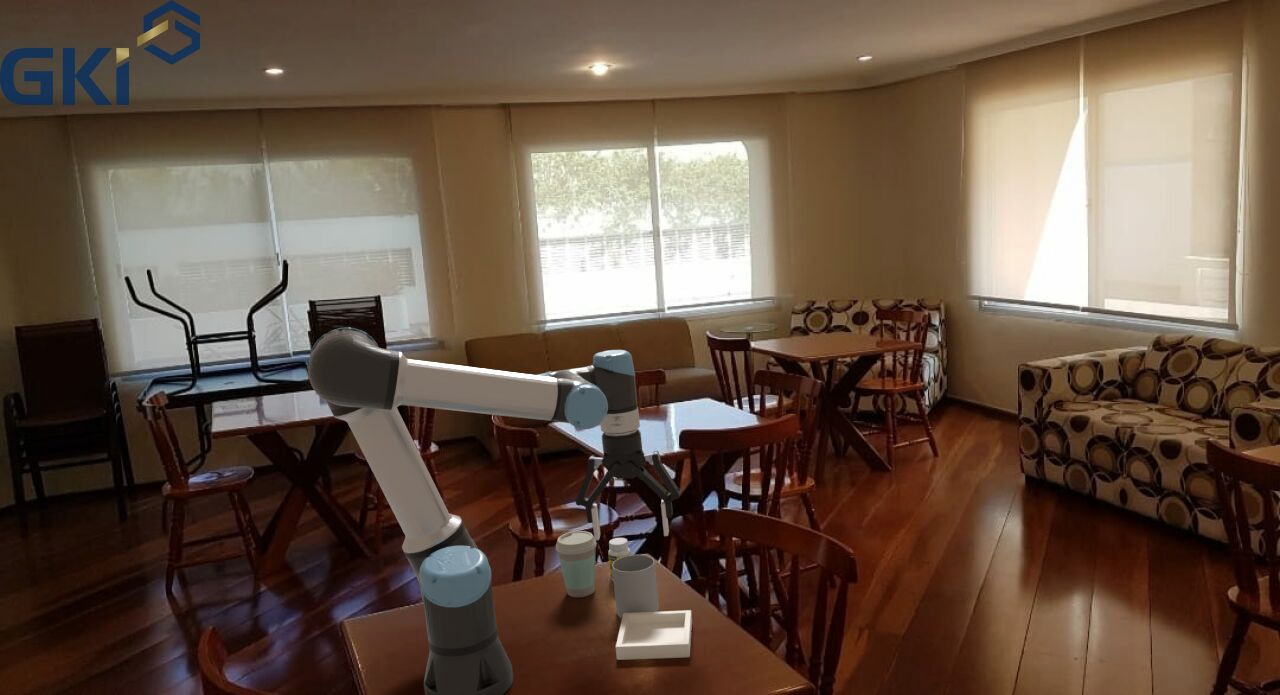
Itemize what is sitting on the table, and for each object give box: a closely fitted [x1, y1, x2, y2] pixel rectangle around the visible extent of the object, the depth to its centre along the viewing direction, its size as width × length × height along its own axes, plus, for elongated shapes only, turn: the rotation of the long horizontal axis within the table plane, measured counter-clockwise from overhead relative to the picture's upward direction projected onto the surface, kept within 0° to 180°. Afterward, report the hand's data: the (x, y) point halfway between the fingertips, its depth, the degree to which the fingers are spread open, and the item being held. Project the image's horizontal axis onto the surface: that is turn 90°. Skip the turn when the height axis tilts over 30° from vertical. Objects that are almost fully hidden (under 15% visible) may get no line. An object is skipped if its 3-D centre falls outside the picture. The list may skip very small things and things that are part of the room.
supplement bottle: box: [607, 537, 632, 581], centre depth 195 cm, size 5×5×8 cm
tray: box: [615, 609, 693, 661], centre depth 167 cm, size 13×13×2 cm
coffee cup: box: [555, 530, 598, 598], centre depth 190 cm, size 8×8×12 cm
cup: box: [612, 554, 660, 619], centre depth 179 cm, size 8×8×10 cm
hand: (631, 535), depth 177 cm, fingers open, 13 cm apart
